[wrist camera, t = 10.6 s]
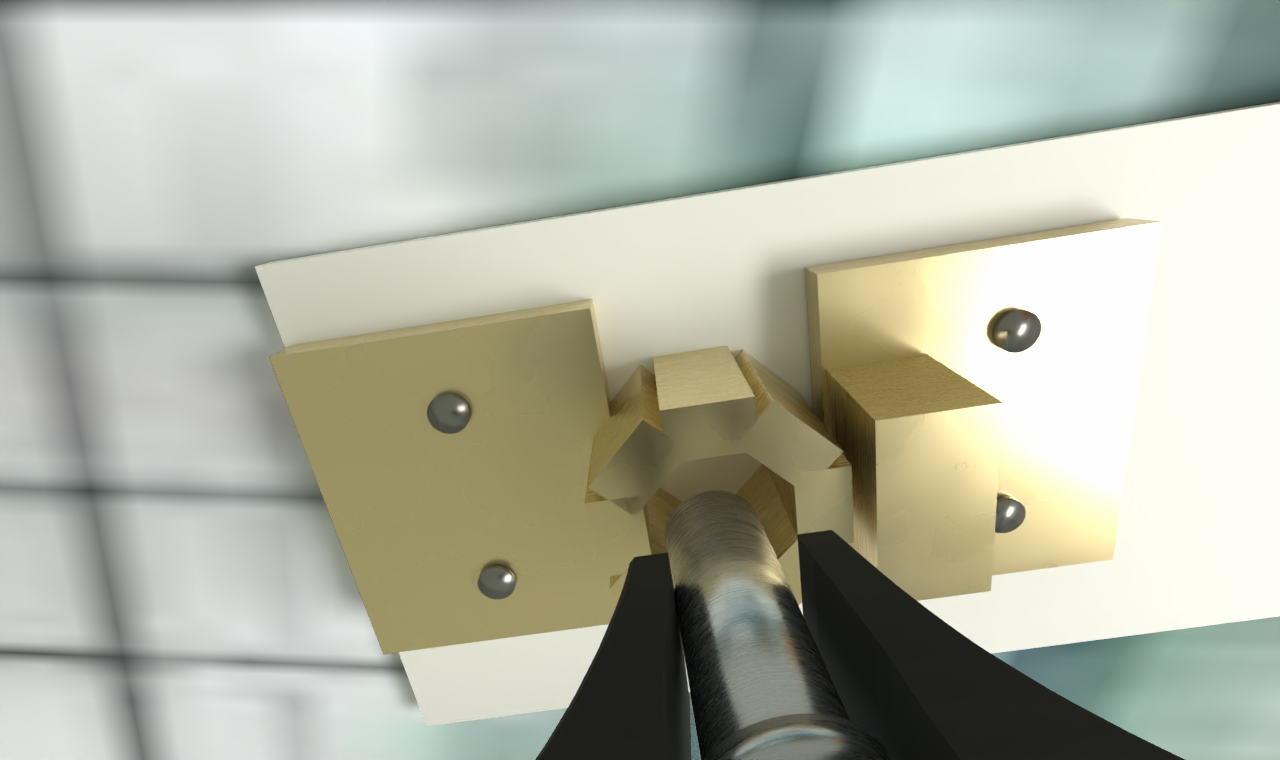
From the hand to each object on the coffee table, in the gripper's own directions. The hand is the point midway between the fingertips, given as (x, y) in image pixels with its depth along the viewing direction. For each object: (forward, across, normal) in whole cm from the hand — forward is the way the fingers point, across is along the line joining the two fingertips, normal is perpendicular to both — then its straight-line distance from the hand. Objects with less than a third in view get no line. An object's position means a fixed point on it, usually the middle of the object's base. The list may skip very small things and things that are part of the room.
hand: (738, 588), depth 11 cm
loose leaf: (+5, -7, 0) cm, 9 cm away
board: (+6, -4, +1) cm, 8 cm away
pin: (+2, 0, 0) cm, 2 cm away
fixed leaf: (+6, +4, 0) cm, 7 cm away
